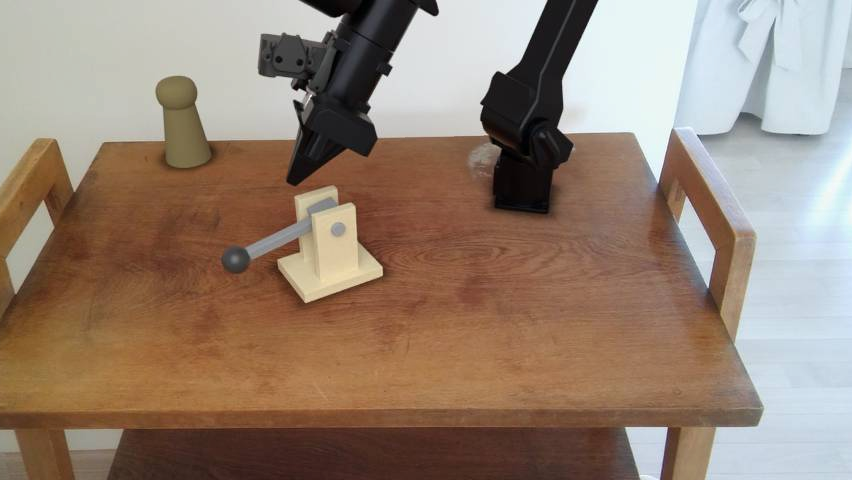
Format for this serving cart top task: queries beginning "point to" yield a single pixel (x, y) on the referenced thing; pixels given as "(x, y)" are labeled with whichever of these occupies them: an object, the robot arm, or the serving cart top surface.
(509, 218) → the serving cart top surface
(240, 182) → the serving cart top surface
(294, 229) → the switch lever
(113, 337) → the serving cart top surface
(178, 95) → the olive pawn
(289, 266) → the switch bracket
